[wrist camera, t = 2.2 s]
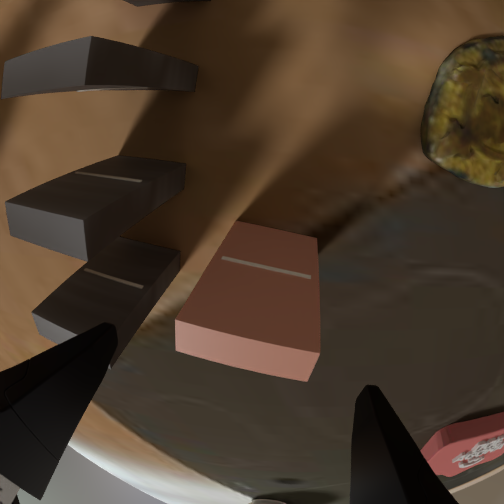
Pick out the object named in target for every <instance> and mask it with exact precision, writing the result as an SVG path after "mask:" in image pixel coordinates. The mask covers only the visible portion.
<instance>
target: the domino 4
mask: <svg viewBox="0 0 504 504" xmlns="http://www.w3.org/2000/svg"><path fill="white" fill-rule="evenodd" d="M175 335H176V351H179V352H182V353H186V354H189V355H192V356H196V357H199V358H203V359H207V360H210V361H214V362H218V363H222V364H226V365H230V366H234V367H238V368H242V369H246V370H251V371H255V372H259V373H264V374H269V375H274V376H279V377H284V378H289V379H294V380H300V381H305V382H307V381H308V379H309V377H310V374H311V372H312V370H313V368H314V366H315V364H316V362H317V359H318V357H319V355H320V297H319V268H318V247H317V238H314V237H310V236H306V235H301V234H297V233H292V232H288V231H283V230H278V229H274V228H269V227H264V226H260V225H255V224H250V223H246V222H241V221H235V223H234V225H233V226H232V228H231V229H230V231H229V232H228V234H227V236H226V237H225V239H224V240H223V242H222V244H221V245H220V247H219V248H218V250H217V252H216V253H215V255H214V257H213V258H212V260H211V261H210V263H209V265H208V266H207V268H206V269H205V271H204V273H203V274H202V276H201V278H200V279H199V281H198V283H197V284H196V286H195V288H194V289H193V291H192V292H191V294H190V296H189V297H188V299H187V301H186V302H185V304H184V306H183V307H182V309H181V311H180V313H179V314H178V316H177V318H176V319H175Z"/></svg>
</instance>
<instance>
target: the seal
mask: <svg viewBox="0 0 504 504" xmlns="http://www.w3.org/2000/svg"><path fill="white" fill-rule="evenodd" d="M421 143H422V149H423V153H424V154H425V156H426V157H427V158H428V159H430V160H431V161H433V162H434V163H435V164H437V165H439V166H440V167H442V168H444V169H446V170H447V171H449V172H451V173H452V174H453V175H455V176H456V177H458V178H460V179H463V180H465V181H468V182H471V183H474V184H477V185H482V186H486V187H493V188H498V187H504V36H497V37H489V38H485V39H473V40H470V41H468V42H466V43H465V44H464V45H462V46H459V47H458V48H456V49H455V50H454V51H453V52H452V53H451V54H450V55H449V56H448V57H447V58H446V59H445V61H444V62H443V63H442V65H441V66H440V68H439V69H438V72H437V75H436V80H435V82H434V83H433V85H432V89H431V92H430V95H429V98H428V100H427V102H426V104H425V109H424V115H423V120H422V124H421Z"/></svg>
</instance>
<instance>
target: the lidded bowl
mask: <svg viewBox="0 0 504 504" xmlns="http://www.w3.org/2000/svg"><path fill="white" fill-rule="evenodd" d="M249 504H286V503H284V502H282V501H277V500H270V499H255V500H252V502H251V503H249Z"/></svg>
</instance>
